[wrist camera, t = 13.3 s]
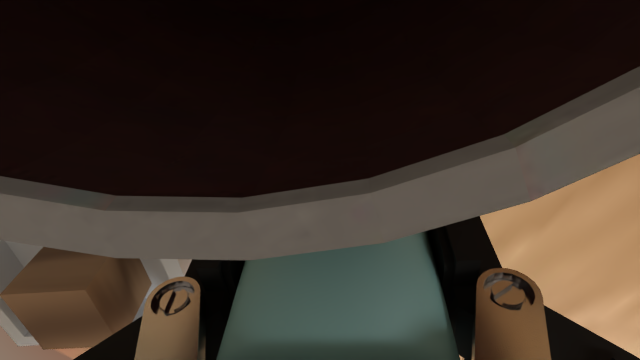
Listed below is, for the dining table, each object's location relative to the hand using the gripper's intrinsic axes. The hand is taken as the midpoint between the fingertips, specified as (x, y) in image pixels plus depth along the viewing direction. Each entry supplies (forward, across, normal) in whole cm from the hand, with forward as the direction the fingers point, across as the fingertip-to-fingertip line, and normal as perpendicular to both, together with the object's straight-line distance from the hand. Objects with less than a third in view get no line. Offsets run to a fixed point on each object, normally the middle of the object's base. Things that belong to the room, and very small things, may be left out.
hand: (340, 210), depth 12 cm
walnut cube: (+8, +17, +10) cm, 22 cm away
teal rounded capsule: (+1, 0, 0) cm, 1 cm away
